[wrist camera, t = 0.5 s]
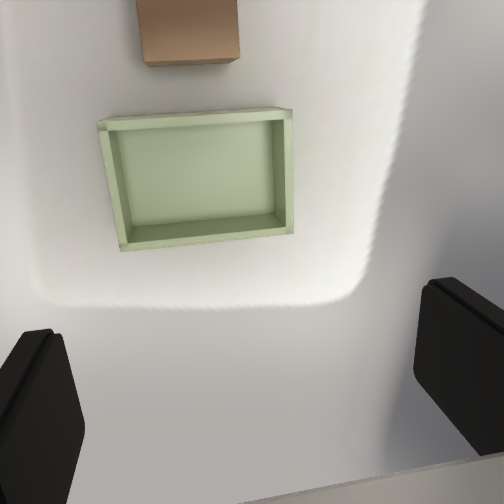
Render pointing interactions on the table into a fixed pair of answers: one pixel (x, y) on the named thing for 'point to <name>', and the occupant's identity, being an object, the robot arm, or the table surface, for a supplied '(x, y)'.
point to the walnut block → (188, 31)
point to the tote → (199, 176)
